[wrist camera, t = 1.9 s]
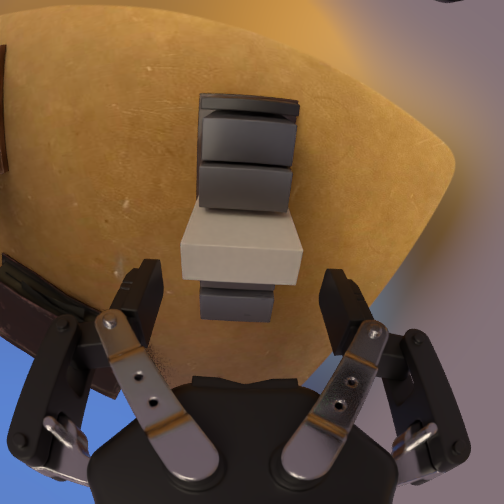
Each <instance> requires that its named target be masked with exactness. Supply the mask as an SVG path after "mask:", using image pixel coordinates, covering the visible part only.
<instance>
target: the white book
mask: <svg viewBox="0 0 504 504" xmlns="http://www.w3.org/2000/svg"><path fill="white" fill-rule="evenodd" d="M180 246H181V262H182V276H183V279H187V280H203V281H219V282H237V283H257V284H280V285H296V281H297V277H298V273H299V268H300V263H301V259H302V254H303V249H302V246H301V243H300V240H299V237H298V234H297V231H296V228H295V225H294V222H293V220H292V217H291V214H290V211H289V208H288V209H287V213H285V212H272V211H258V210H243V209H226V208H206V207H199V196H198V199H197V201H196V204H195V206H194V209H193V211H192V214H191V217H190V219H189V222H188V225H187V227H186V230H185V233H184V235H183V238H182V241H181V244H180Z"/></svg>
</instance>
